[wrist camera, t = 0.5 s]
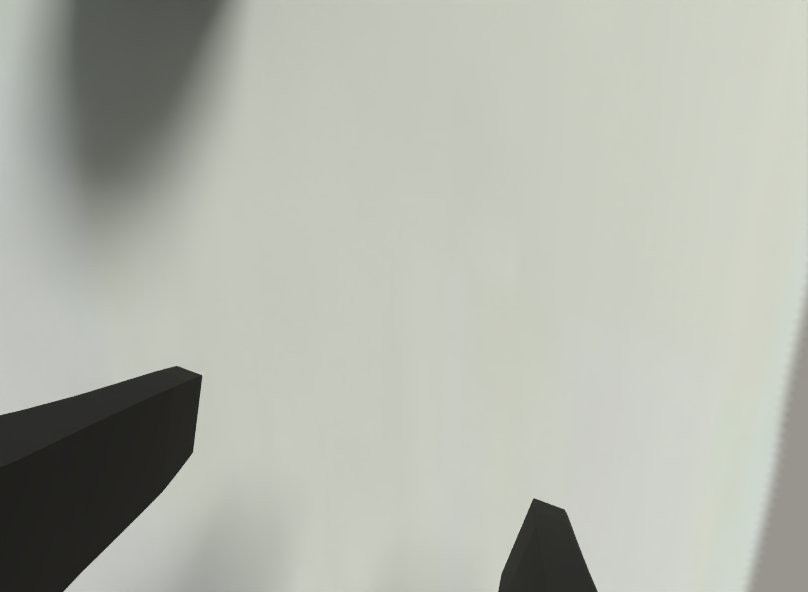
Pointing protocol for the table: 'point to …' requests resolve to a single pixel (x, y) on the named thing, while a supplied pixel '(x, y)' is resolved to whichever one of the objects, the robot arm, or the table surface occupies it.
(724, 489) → the table surface
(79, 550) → the robot arm
